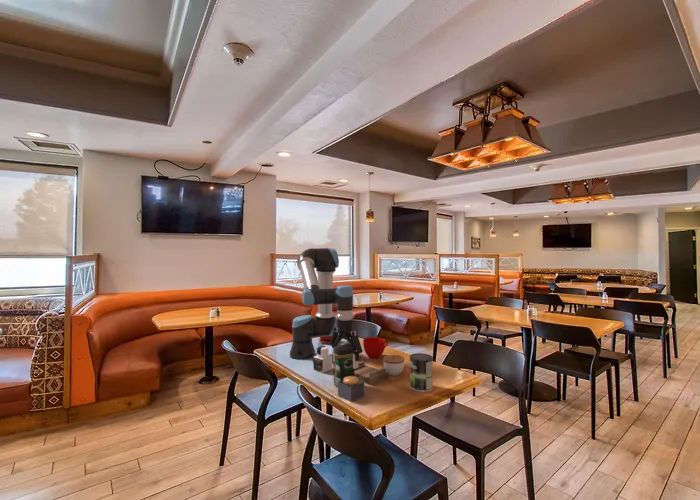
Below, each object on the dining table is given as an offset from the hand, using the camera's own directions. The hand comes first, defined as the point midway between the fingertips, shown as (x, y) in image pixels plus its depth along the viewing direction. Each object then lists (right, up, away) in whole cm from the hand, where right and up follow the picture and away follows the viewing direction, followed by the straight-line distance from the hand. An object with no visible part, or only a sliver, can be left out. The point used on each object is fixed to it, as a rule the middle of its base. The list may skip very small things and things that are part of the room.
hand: (345, 364), depth 157 cm
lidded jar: (+24, -9, +14) cm, 29 cm away
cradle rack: (+10, -9, +9) cm, 16 cm away
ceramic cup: (+18, -10, +42) cm, 47 cm away
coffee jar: (-1, -10, 0) cm, 10 cm away
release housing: (+3, -9, -13) cm, 16 cm away
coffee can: (+35, -9, -4) cm, 36 cm away
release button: (+3, -9, -13) cm, 16 cm away
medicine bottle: (-12, -10, +20) cm, 26 cm away
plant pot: (-13, -10, +75) cm, 77 cm away
